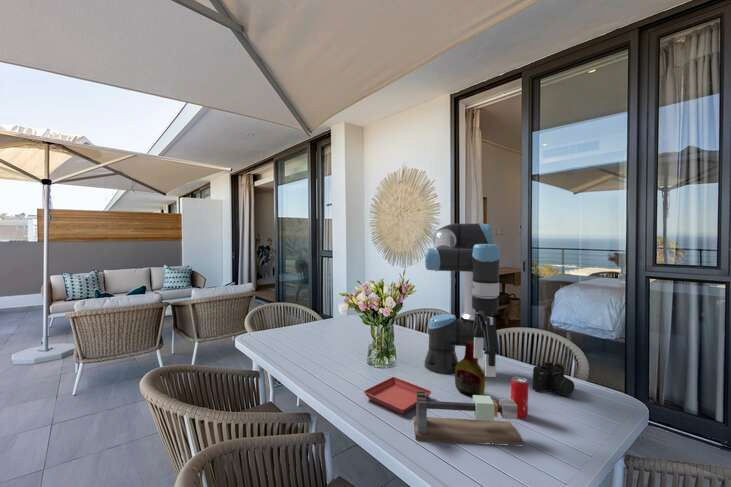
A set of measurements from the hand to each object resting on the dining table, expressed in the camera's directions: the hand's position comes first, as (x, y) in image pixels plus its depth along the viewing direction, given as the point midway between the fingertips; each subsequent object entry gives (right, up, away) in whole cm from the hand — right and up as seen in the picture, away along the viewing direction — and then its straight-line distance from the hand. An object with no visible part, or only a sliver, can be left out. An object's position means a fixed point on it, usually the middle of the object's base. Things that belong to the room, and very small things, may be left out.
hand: (483, 366), depth 101 cm
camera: (+37, -20, +28) cm, 51 cm away
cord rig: (-6, -20, +1) cm, 21 cm away
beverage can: (+15, -20, +11) cm, 28 cm away
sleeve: (0, -15, 0) cm, 15 cm away
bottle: (+4, -20, +26) cm, 33 cm away
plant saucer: (-24, -20, +21) cm, 38 cm away
